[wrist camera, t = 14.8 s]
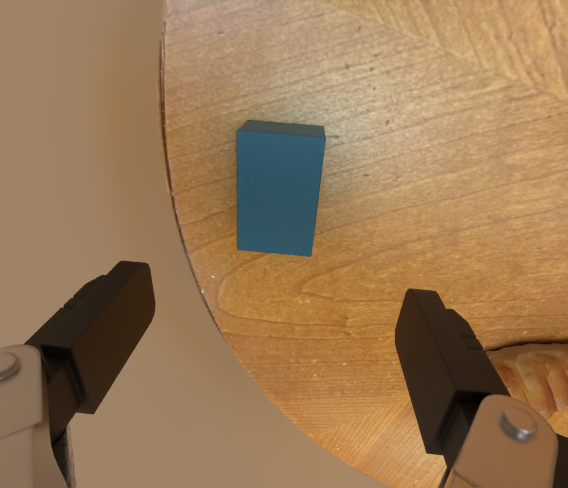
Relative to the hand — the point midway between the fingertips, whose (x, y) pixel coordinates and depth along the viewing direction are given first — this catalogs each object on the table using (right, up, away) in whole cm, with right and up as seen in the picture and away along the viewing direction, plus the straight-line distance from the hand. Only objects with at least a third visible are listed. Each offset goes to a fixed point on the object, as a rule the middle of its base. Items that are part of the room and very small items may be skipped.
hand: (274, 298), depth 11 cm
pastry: (+19, -8, +17) cm, 27 cm away
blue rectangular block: (0, +6, +11) cm, 12 cm away
